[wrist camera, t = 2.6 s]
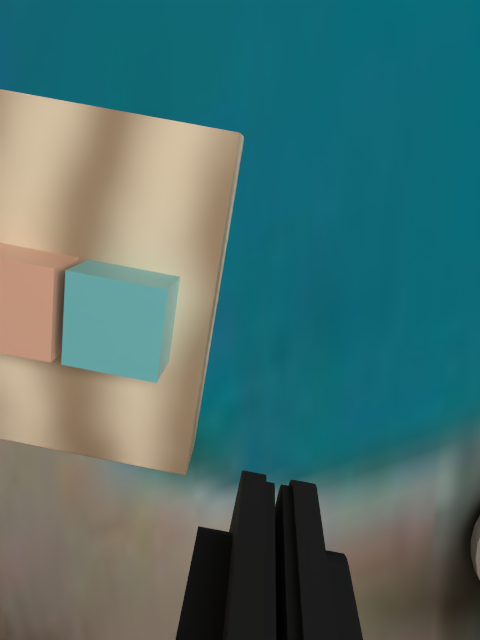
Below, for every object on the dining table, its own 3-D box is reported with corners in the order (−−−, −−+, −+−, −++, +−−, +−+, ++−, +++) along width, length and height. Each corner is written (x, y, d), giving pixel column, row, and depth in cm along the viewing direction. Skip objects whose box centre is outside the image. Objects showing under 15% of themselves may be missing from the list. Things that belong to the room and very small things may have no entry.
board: (244, 137, 21) (240, 132, 19) (193, 449, 27) (185, 475, 25) (2, 93, 22) (-32, 83, 19) (3, 411, 28) (-23, 434, 25)
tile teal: (180, 276, 21) (168, 289, 19) (169, 360, 23) (156, 383, 20) (88, 259, 21) (65, 270, 19) (83, 344, 23) (61, 364, 21)
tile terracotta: (78, 257, 21) (54, 268, 19) (73, 342, 23) (50, 362, 21) (-13, 240, 22) (-48, 248, 19) (-11, 326, 23) (-45, 344, 21)
